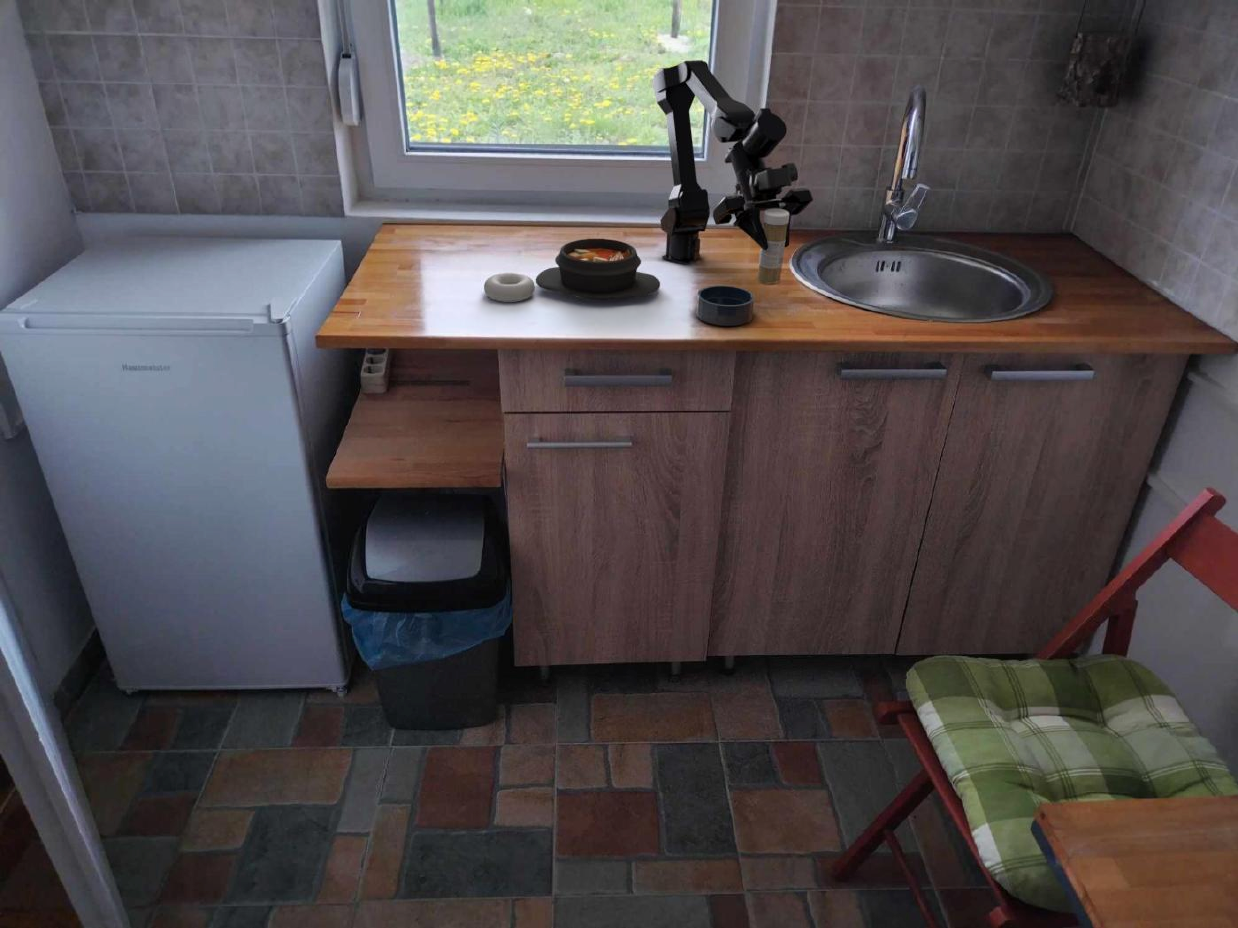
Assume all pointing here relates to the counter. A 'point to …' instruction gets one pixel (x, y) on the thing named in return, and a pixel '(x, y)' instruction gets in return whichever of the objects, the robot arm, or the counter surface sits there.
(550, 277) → the casserole
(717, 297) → the bowl
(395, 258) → the counter surface
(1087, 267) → the counter surface
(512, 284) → the donut
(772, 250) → the sprinkles bottle
